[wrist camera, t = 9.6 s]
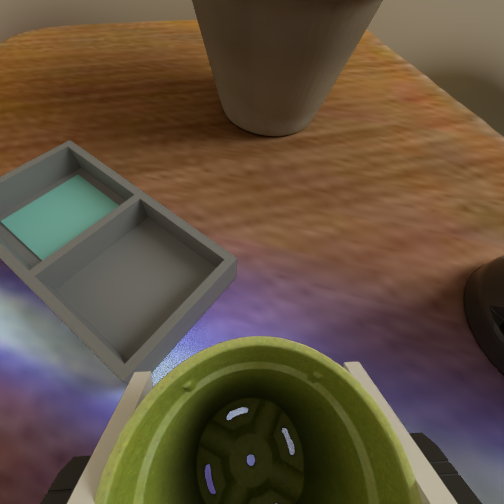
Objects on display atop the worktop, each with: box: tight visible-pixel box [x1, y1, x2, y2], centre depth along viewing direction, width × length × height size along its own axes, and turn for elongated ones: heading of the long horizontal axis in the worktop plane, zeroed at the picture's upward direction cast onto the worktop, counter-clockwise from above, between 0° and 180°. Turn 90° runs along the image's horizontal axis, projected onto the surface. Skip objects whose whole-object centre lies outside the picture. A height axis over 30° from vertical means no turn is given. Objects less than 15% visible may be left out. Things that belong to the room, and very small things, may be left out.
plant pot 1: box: [192, 0, 383, 136], centre depth 34 cm, size 25×25×22 cm
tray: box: [0, 140, 237, 383], centre depth 26 cm, size 13×25×4 cm, turn 53°
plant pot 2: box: [94, 336, 422, 504], centre depth 11 cm, size 9×9×9 cm
